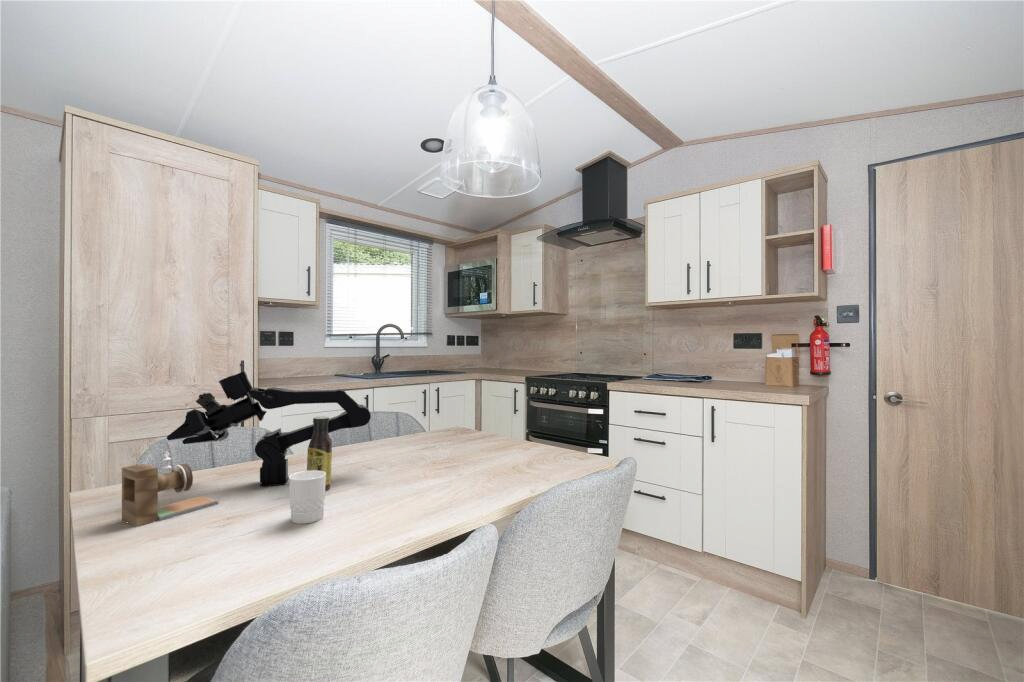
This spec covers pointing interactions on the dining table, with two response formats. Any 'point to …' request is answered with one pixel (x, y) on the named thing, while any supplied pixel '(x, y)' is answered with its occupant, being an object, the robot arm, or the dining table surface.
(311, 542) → the dining table surface
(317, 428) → the sauce bottle
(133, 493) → the block
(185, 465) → the peg
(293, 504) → the white cup
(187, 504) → the board
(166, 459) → the chess piece
